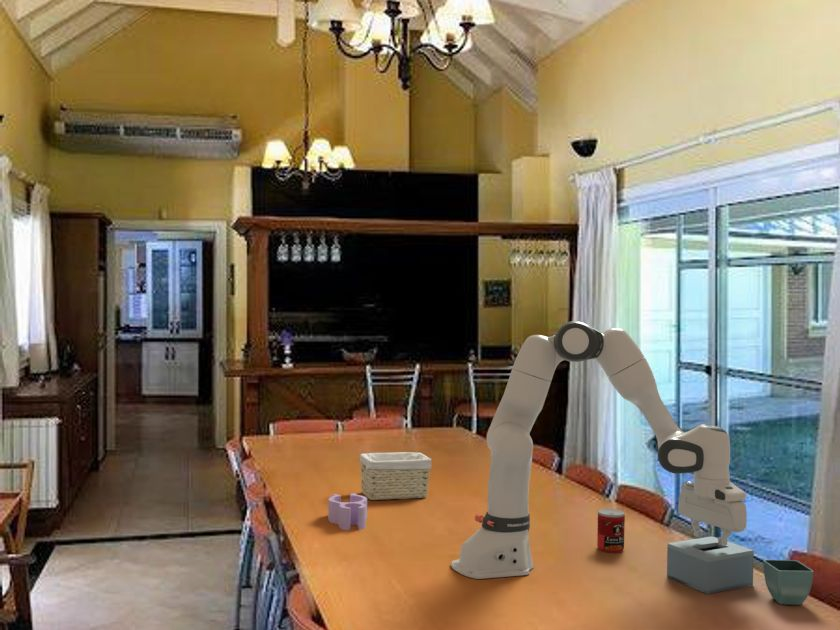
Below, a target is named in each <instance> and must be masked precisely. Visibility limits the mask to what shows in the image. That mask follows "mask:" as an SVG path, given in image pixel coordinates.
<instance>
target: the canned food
mask: <svg viewBox="0 0 840 630" xmlns="http://www.w3.org/2000/svg"><path fill="white" fill-rule="evenodd" d="M625 516H626V514H625V512H624V511H622V510H620V509H616V508H601V509H599V510H598V512H597V537H596V538H597V539H596V542H597V543H596V544H597V549H598V550H599V551H601V552H603V553H608V554H618V553H622V552H623V551H624V549H625V528H626V525H625V524H626V523H625V522H626V521H625V519H626V518H625Z"/></svg>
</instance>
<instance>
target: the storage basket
mask: <svg viewBox="0 0 840 630" xmlns="http://www.w3.org/2000/svg"><path fill="white" fill-rule="evenodd" d="M359 461H360V475H361V476H360V479H361V480H360V481H361V485H360V486H361V493H362V494H363V496H364V497H366V498H367V500H368V499H369V501H379V500H380V501H381V500H409V499H424V498H425V499H426V498H427V497H428V490H429V489H428V488H429V480H430V472H431V469H432V458H430V457H429V456H427V455H425V454H423V453H422V452H419V451H418V452H413V451H412V452H411V451H410V452H409V451H408V452H407V451H405V452H403V451H399V452H397V451H396V452H369V453H368V452H367V453H360V454H359Z"/></svg>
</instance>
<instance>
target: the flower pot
mask: <svg viewBox="0 0 840 630" xmlns="http://www.w3.org/2000/svg"><path fill="white" fill-rule="evenodd" d="M762 564H763V574H764V580H765V585H766V588H767V590H768V592H769V594H770V597H771V598H772V599H773V600H775V601H776V602H777V603H778V604H781V605H783V604H784V605H793V606H794V605H795V606H799V605H800V606H801V605H803V603H804V602H805V601H806V600H807V598H808V596H809V595H810V592H811V588H812V584H813V579H814V573H815V571H814V570H813V569H811V567H810V568H809V567H808V566H807V565H806V564H804V563H802V562H800V561H799V560H796V559H795V560H794V559H792V560H790V559H785V560H784V559H763V560H762Z"/></svg>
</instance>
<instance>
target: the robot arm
mask: <svg viewBox="0 0 840 630" xmlns="http://www.w3.org/2000/svg"><path fill="white" fill-rule="evenodd" d="M588 360H595V361H596V362H597V363H598V364H599V365H600V367H601V368H602V369H603V372H604V373H605V375H606V377H607V378H608V380H609V382H610V383H611V385H612V386H613V387H614V389H615V390H616V392H617V393H618V394H619V395H620V396H621V397H622V398H623V399H624V400H626V401H628V402H630V403H631V404H632V405H634V406H635V407H636V408H638V410H639V411H640V412H641V414H642V416H644V419H645V420H646V422H647V424H648V425H649V426H650V428H651V429H652V431H653V433H654V435H655V438H656V442H657V460H658V462H659V464H660V466H661V467H662V468H663V469H664V470H665V471H667V472H668V473H671V474H676V475H679V474H689V473H690V474H691V473H693V482H691V481H689V480H688V481H687V480H685V482H683V483H682V484H681V486H680V493H679V499H678V506H677V507H678V508H677V511H678V513H679V515H680V516H683V517H685V518H688V519H690V524H691V527H692V528H693V536H694V537H697V538H703V537H704V534H703V533H704V530H703V529H701V526H700V523H701V522H702V523H705V524H708V525H709V526H714V527H717V528H720V529H721V533H722V534H721V536H720V537H719V536H718V537H717V538H718V544H719V545H722V546H725V545H727V542H728V539H729V537H730V536H731V534H732V533H739V532H740V533H741V532H744V530H745V529H747V522H748V521H747V518H748V516H747V515H748V514H747V505H746V504H745V502H744V501H745V500H746V499H747V493H746V492H745V491H744V490H743V489H741V488H740V487H739V486H736V485H735V483H733V482H731V475H730V470H729V467H730V464H731V442H730V440H731V439H730V436H729V433H728V432H727V431H726V430H725V429H724V428H722V427H720V426H717V425H712V424H708V423H707V424H706V423H701V424H698V425H697V426H696V427H694V428H692V429H690V430H688V431H686V430H684V429H682V428H681V427H679V425H678V424H677V423H676V422H675V420H674V419H673V417H672V415H671V414H670V411H669V410H668V408H667V407H666V405H665V404H664V401H663V400H662V399H661V396H660V393H659V390H658V389H659V388H658V385H657V382H656V379H655V375H654V373H653V371H652V368H651V366H650V363H649V362H648V360H647V359H646V357H645V356H644V354H643V352H642V350H641V349H640V348H639V346H638V345H637V344H636V342H635V341H634V340H633V338H632V337H631V336H630V335H629V334H628V333H627V331H625V330H624V329H622V328H621V327H620V328H619V327H613V328H612V327H611V328H608V329H606V330H604V331H602V332H601V331H599V330H598V329H596V328H594V327H592V326H591V325H589V324H588V323H586V322H583V321H580V320H571V321H568V322H565V323H564V324H562V325H561V326H560V327H559V328H558V330H557V331H556V332H555V333H554V334H553V335H551V336H547V335H543V334H532V335H530V336H528V337H527V338H526V339H525V340H524V342H523V344H522V345H521V347H520V349H519V351H518V353H517V355H516V358H515V361H514V363H513V366H512V368H511V370H510V375H509V378H508V380H507V384H506V386H505V389H504V393H503V395H502V397H501V400H500V401H499V404H498V407H497V408H496V411H495V413H494V415H493V417H492V420H491V423H490V426H489V428H488V431H487V433H486V444H487V447H488V449H489V451H490V464H489V465H490V467H489V474H488V475H489V476H488V482H487V511H486V513H485V515H481V514H479V513H477V514H475V516H474V520H475V521H476V522H477V523H480V524H481V526H480V528H479V529H478V530H476V531H475V532H474V533H473V534H472V535H471V536H469V537H468V538H467V539H466V540H465V541H463V543H462V544H461V547H460V552H459V558H457V559H454V560H451V563H450V566H451V568H452V570H454V571H456V572H457V573H459V574H461V575H462V576H465V577H468V578H471V579H475V580H480V579H491V578H492V579H493V578H505V577H506V578H507V577H515V576H516V577H519V576H527V575H529V574H530V571H531V570H533V568H534V563H533V558H532V553H531V547H530V539H529V538H530V537H529V536H530V535H529V532H530V528H531V525H530V524H531V523H530V522H531V521H530V520H531V516H530V513H529V498H530V497H529V495H530V493H529V492H530V480H531V472H532V464H533V463H532V462H533V451H534V442H533V439H532V437H531V435H530V433H531V431H532V428H533V426H534V424H535V422H536V421H537V418H538V416H539V414H540V413H541V412H542V410H543V407H544V405H545V401H546V398H547V396H548V392H549V389H550V387H551V384H552V380H553V377H554V375H555V371H556V369H557V366H558V365H559V364H560V363H561V362H563V361H564V362H565V361H567V362H570V363H581V362H583V361H588Z"/></svg>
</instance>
